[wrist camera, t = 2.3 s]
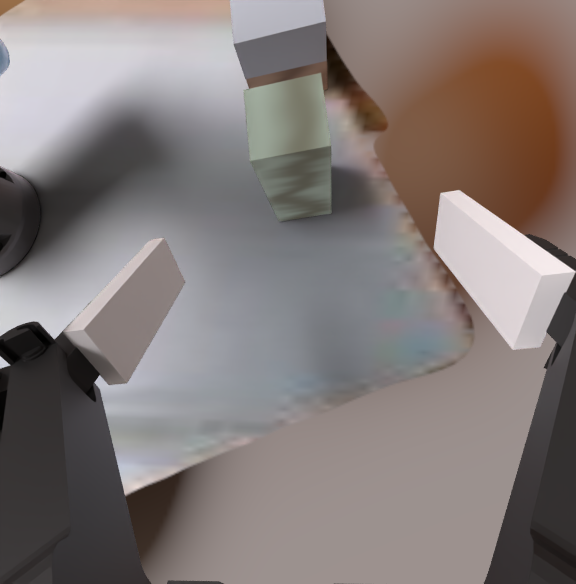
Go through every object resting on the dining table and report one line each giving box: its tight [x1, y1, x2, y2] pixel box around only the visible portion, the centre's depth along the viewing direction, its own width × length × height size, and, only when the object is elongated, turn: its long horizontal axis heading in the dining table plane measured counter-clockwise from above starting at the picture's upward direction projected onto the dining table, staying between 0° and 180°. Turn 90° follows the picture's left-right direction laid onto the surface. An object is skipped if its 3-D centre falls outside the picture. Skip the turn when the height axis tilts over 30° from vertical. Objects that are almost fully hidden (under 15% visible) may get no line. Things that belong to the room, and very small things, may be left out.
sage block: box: [244, 73, 331, 222], centre depth 27 cm, size 6×6×12 cm
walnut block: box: [246, 61, 328, 90], centre depth 34 cm, size 9×9×4 cm
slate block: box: [230, 0, 327, 79], centre depth 30 cm, size 9×9×4 cm
